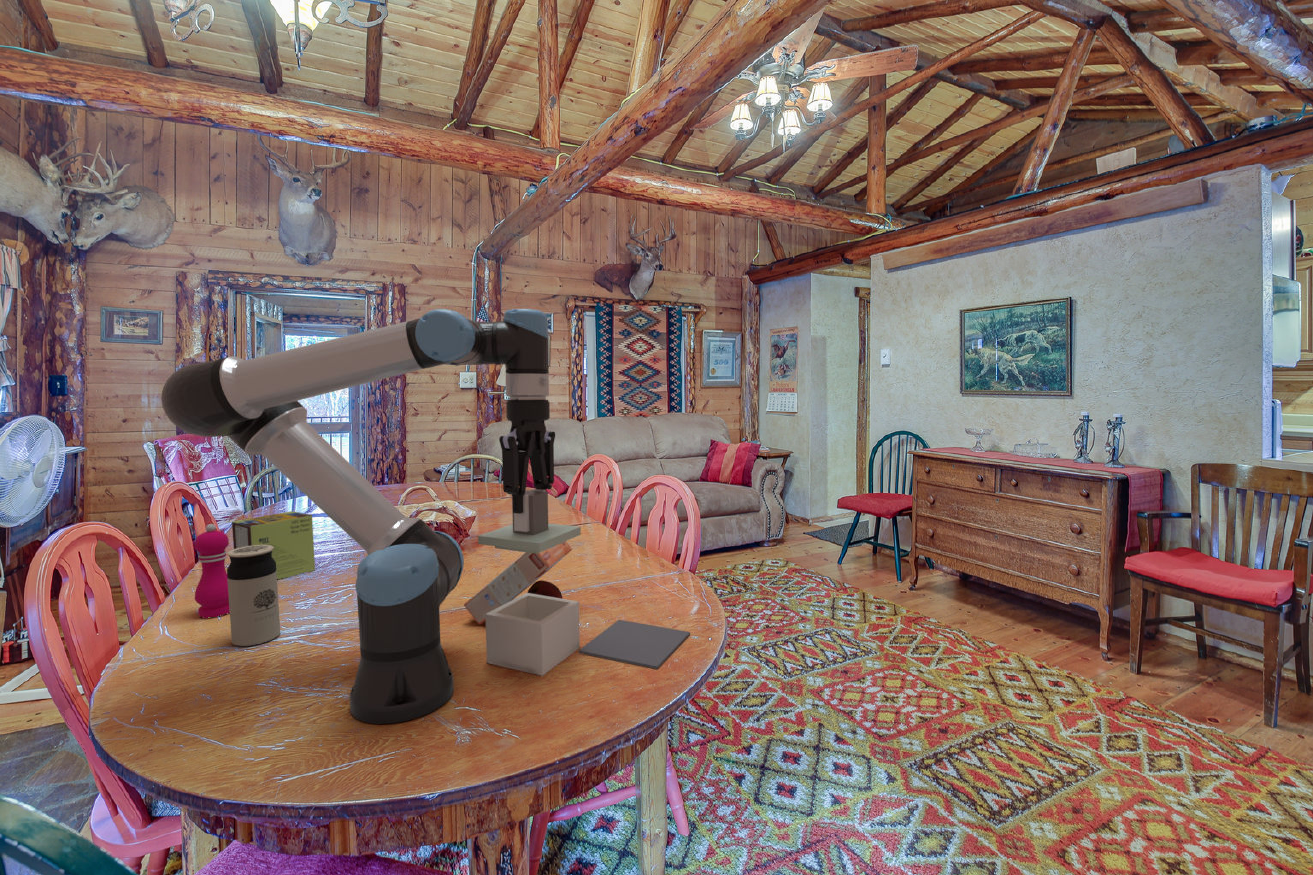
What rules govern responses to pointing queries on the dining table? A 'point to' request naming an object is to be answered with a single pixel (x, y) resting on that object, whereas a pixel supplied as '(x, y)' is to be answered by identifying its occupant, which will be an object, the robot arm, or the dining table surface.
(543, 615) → the storage box
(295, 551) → the protein box
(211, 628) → the dining table surface
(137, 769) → the dining table surface
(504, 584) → the cracker box
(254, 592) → the travel mug
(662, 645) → the mat
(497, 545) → the lid
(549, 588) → the apple
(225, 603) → the pepper mill
